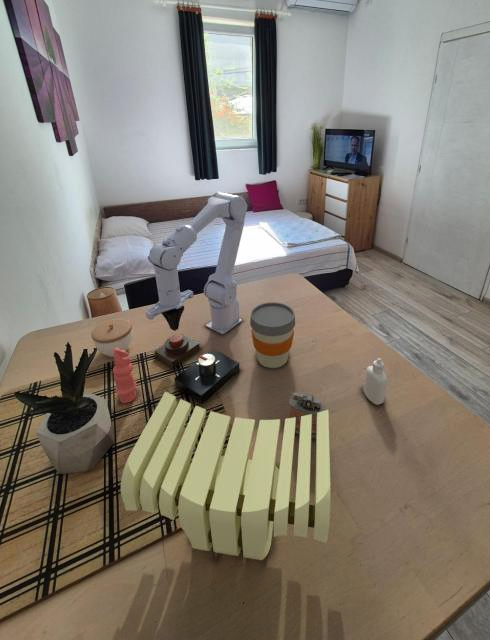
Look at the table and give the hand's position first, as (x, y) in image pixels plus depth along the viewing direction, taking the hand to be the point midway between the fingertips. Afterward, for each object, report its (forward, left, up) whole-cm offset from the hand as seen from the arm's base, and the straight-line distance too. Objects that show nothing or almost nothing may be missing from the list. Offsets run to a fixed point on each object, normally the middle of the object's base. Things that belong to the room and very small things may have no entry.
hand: (174, 328), depth 93 cm
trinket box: (+10, -16, -9) cm, 21 cm away
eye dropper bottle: (-18, +53, -9) cm, 57 cm away
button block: (0, 0, -9) cm, 9 cm away
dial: (+2, +15, -6) cm, 16 cm away
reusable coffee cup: (-15, +24, -9) cm, 30 cm away
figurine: (+18, +3, -9) cm, 20 cm away
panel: (+2, +15, -9) cm, 17 cm away
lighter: (0, +44, -9) cm, 45 cm away
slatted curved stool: (+21, +42, -9) cm, 48 cm away
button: (0, 0, -5) cm, 5 cm away
